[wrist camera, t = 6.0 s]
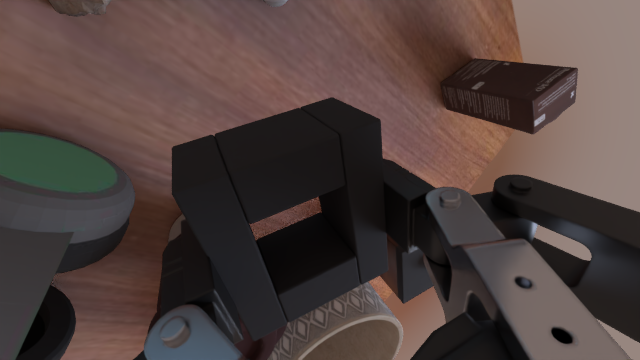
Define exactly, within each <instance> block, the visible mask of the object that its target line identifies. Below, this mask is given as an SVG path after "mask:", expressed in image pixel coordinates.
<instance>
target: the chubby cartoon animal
mask: <svg viewBox="0 0 640 360" xmlns="http://www.w3.org/2000/svg"><path fill="white" fill-rule="evenodd" d="M287 1H288V0H264V2H265V3H267V4H268V5H270V6H272V7H279V6H282V5H283V4H285V3H286V2H287Z"/></svg>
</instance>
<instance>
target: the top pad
mask: <svg viewBox="0 0 640 360" xmlns="http://www.w3.org/2000/svg"><path fill="white" fill-rule="evenodd" d="M172 195H173V197H174V199H175V201H176V202H177V204H178V206H179V208H180V210H181V211H182V213H183V215H184V217H185V219H186V221H187V222H188V224H189V226H190V228H191V230H192V231H193V233H194V235H195V237H196V239H197V241H198V242H199V244H200V246H201V248H202V250H203V251H204V253H205V255H206V256H207V257H210V259H211V260H212V262H213V264H214V266H215V268H216V270H217V272H218V273H219V275H220V277H221V279H222V281H223V283H224V284H225V286H226V288H227V290H228V292H229V294H230V296H231V297H232V299H233V301H234V303H235V305H236V307H237V312H238V315H239V317H240V319H241V320H242V322H243V324H244V326H245V328H246V329H247V331H248V333H249V335H250V337H251V339H252V340H253V341H256V340H258V339H260V338H262V337H264V336H266V335H267V334H269V333H271V332H273V331H275V330H277V329H279V328H281V327H283V326H285V325H286V324H287V321H288V322H292V321H294V320H296V319H298V318H300V317H301V316H303V315H305V314H307V313H309V312H311V311H313V310H315V309H317V308H318V307H320V306H322V305H324V304H326V303H328V302H330V301H332V300H334V299H336V298H337V297H339V296H341V295H343V294H345V293H347V292H349V291H351V290H353V289H355V288H356V287H358V286H359V285H360V284H361V285H363V284H364V283H366V282H368V281H370V280H372V279H374V278H376V277H378V276H380V275H381V274H383V273H385V272H387V271H388V253H387V234H386V217H385V198H384V176H383V157H382V138H381V121H380V119H378V118H376V117H374V116H372V115H370V114H368V113H365V112H363V111H361V110H359V109H357V108H355V107H352V106H350V105H348V104H346V103H344V102H342V101H339V100H337V99H335V98H328V99H325V100H322V101H319V102H315V103H312V104H309V105H306V106H303V107H301V109H300V108H297V109H294V110H290V111H287V112H284V113H281V114H277V115H274V116H271V117H268V118H265V119H261V120H258V121H255V122H252V123H248V124H245V125H242V126H239V127H235V128H232V129H229V130H226V131H223V132H219V133H216V134H215V137H214V136H213V135H209V136H206V137H203V138H199V139H196V140H193V141H190V142H187V143H183V144H180V145H177V146H174V147H172ZM318 196H319V200H320V204H321V209H322V213H318V214H315V215H313V216H311V217H308V218H306V219H304V220H301V221H299V222H297V223H294V224H292V225H290V226H287V227H285V228H283V229H280V230H278V231H276V232H273V233H271V234H269V235H266V236H264V237H262V238H259V239H257V241H256V240H255V237H254V235H253V232H252V230H251V227H250V225H249V223H250V224H252V223H255V222H257V221H260V220H262V219H265V218H267V217H270V216H272V215H274V214H277V213H279V212H282V211H284V210H287V209H289V208H291V207H294V206H296V205H299V204H301V203H304V202H306V201H309V200H311V199H313V198H316V197H318Z"/></svg>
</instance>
